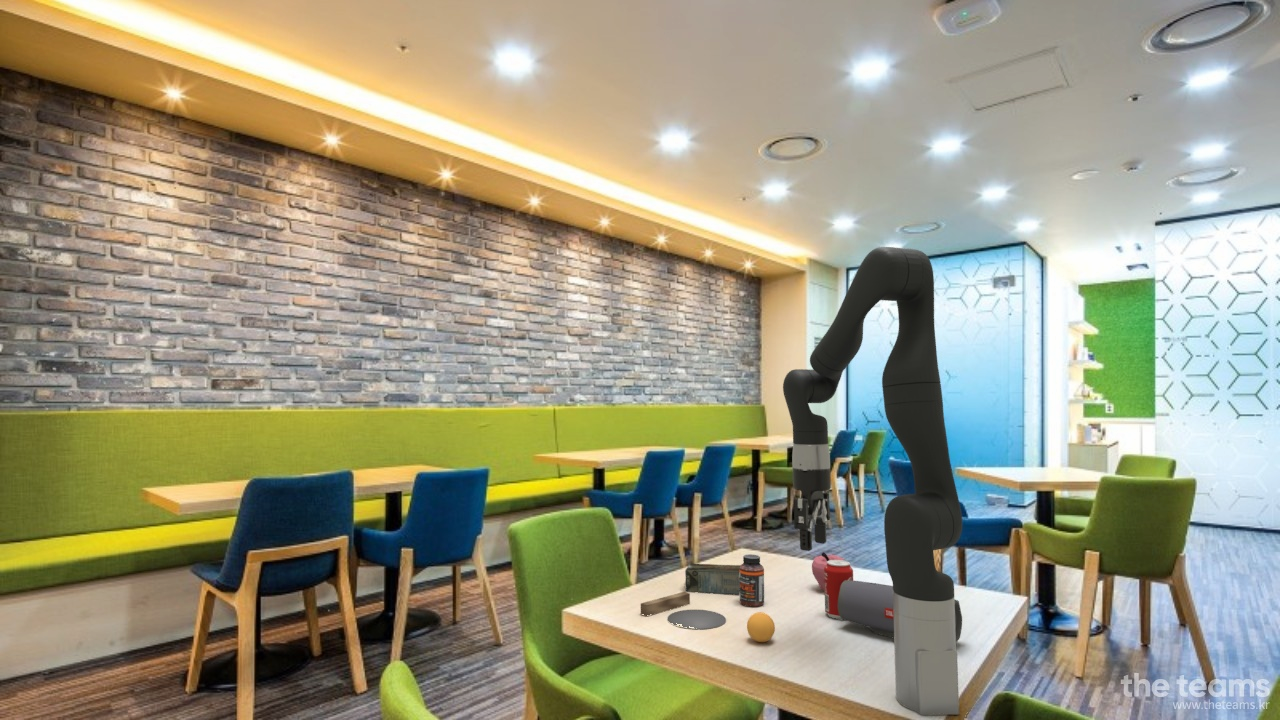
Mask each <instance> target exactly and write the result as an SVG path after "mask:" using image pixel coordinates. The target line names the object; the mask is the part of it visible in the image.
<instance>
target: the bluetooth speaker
mask: <svg viewBox="0 0 1280 720" xmlns="http://www.w3.org/2000/svg"><path fill="white" fill-rule="evenodd" d="M954 600H955V633H956V643H958V641H959V640H960V638H961V636H962V635H961V634H962V627H963V616H962V611H961V606H960V601H959V600H958V599H956V598H954ZM837 607H838V612H839V615H840V617H841V618H842V619H844V621H847V622H850V623H852V624H856V625H861V626H864V627H867V628H869V629H870V630H871V632H872V633H874V634H877V635H881V636H883V637H889V638H892V637H893V639H894V613H893V585H890V584H889V585H888V584H883V583H882V584H881V583H876V582H875V583H874V582H868V581H862V580H853V581H851V580H846V581H844V582H843V583H842V584H841V587H840V592H839V597H838V604H837Z"/></svg>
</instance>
